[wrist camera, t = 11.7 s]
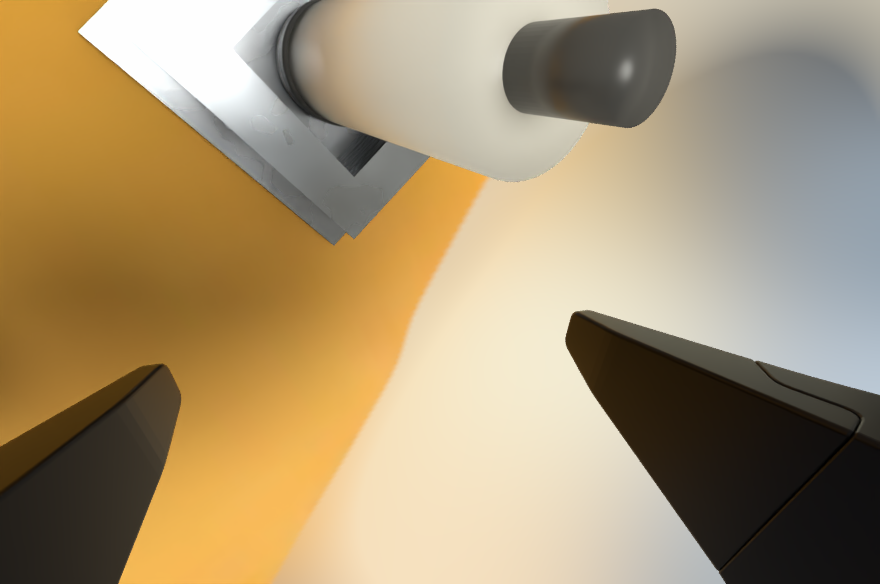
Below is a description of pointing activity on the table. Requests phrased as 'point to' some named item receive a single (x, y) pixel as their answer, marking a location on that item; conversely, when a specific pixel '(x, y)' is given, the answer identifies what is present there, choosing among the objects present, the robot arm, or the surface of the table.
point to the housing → (252, 104)
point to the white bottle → (477, 74)
